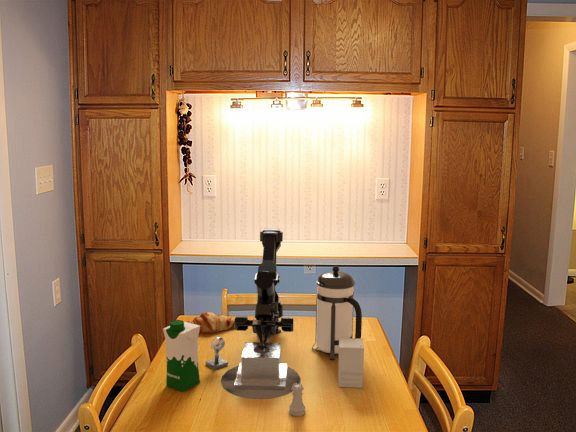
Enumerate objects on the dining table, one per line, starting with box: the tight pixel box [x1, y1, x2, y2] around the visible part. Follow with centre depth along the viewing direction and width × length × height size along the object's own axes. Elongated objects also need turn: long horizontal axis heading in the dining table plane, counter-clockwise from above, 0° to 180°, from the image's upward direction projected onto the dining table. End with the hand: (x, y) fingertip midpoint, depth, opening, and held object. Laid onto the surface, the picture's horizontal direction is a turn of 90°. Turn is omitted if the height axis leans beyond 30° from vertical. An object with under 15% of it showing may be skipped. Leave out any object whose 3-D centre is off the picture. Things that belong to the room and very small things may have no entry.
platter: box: [220, 365, 301, 400], centre depth 167 cm, size 24×24×1 cm
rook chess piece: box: [288, 382, 306, 417], centre depth 148 cm, size 4×4×8 cm
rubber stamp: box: [205, 336, 229, 371], centre depth 176 cm, size 5×5×10 cm
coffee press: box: [311, 265, 363, 361], centre depth 185 cm, size 17×16×30 cm
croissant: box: [186, 311, 235, 334], centre depth 207 cm, size 21×10×8 cm, turn 105°
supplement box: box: [337, 337, 365, 389], centre depth 165 cm, size 7×7×13 cm
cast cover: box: [234, 341, 288, 390], centre depth 167 cm, size 15×15×9 cm
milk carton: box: [162, 319, 201, 393], centre depth 162 cm, size 9×9×20 cm
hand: (262, 349), depth 173 cm, fingers closed
